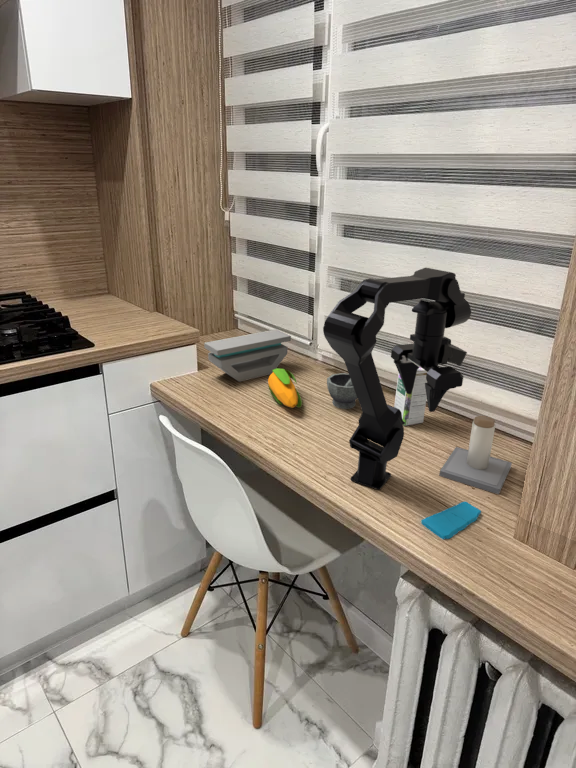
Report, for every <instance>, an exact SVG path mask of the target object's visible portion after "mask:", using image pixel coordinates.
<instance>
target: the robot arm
mask: <svg viewBox="0 0 576 768" xmlns="http://www.w3.org/2000/svg"><path fill="white" fill-rule="evenodd" d="M456 278H457V276H456V273H455V272H451V271H446V270H441V269H437V268H430V267H423V268H420V269H418V270H415V271H413V274H412V275H405V276H397V277H387V278H386V277H384V278H367V279H366V278H365V279H363V280H361V282H360V284H359V285H358V287H356V289H355V290H353V291H352V292H351V293H349V294H348V295H346V296H345V297H343V298H342V299H340V300H339V301H338V302H337V304H336V305H335V306H334V307H333V309H332V310H331V311H330V313H329V314H328V316H327V317H326V318H325V321H324V323H323V324H324V325H323V327H322V330H323V336H324V338H325V340H326V341H327V343H328V344H329V346H330V348H331V349H332V350H333V351H334V352H335V353H336V354H337V355H338V357H340V358H341V359H342V360H343V362H344V363H345V364H344V365H345V367H346V370H347V374H349V376H350V378H351V381H352V384H353V387H354V390H355V393H356V395H357V401H358V403H359V407H360V410H361V411H362V412H361V415H360V416H359V418H358V425H357V427H356V429H355V431H353V433H352V435H351V436H350V438H349V440H348V441H349V443H348V444H349V447H350V448H351V449H353V450H355V451H357V452H358V462H357V470H356V471H355V472H354V473H353V474H352V476H351V477H350V481H352V482H354V483H357V484H361V485H363V486H366V487H369V488H372V489H374V490H378V491H379V490H382V488H383V487H384V485H385V484H386V483H387V481H389V479H390V478H391V477H392V473H391V472H389V471H387V464H388V462H390V461H392V460H394V459H396V458H397V457H398V455H399V452H400V449H401V446H402V443H403V440H404V437H405V430H404V427H405V426H404V425H403V424H405V422H404V421H403V419H402V413H401V411H400V410H399V409H397V408H395V407H394V406H392V405H389V404H388V403H387V401H386V397H385V394H384V390H383V387H382V385H381V384H382V383H381V380H380V377H379V374H378V370H377V367H376V364H375V361H374V358H373V353H372V352H373V350H374V348H375V347H376V344H377V335H378V333H379V332H380V331H381V329H382V328H383V326H384V324H385V315H386V309H387V307H388V305H389V304H391V303H392V304H393V303H398V302H404V301H405V302H406V301H411V300H418V299H419V302H417V304H415V305H414V306H413V308H411V312H413V313H416V321H415V329H414V334H413V333H412V334H410V336H409V340H410V341H412V342H413V343H405V344H397V345H396V344H395V345H394V346H393V348H391V351H390V352H391V353H390V358H391V359H392V360H393V364H394V366H395V367H396V369H397V372H398V373H399V374H400V377H401V380H402V382H403V385H404V388H405V391H406V393H407V394H411V393H412V390H413V387H414V382H415V377H416V373H417V370H418V368H419V367H421V368H423V369H424V370H426V371H427V374H426V380H427V383H425V389H426V396H427V400H426V404H427V409H428V412H430V413H433V412H435V411H436V409H437V408H438V406H439V404H440V402H441V401H442V399H443V397H444V396H445V394H446V393H447V392H448V391H449V390H451V389H456V388H460V387H462V386H463V383H464V382H463V381H464V377H465V376H464V375H463V373H462V372H460V371H459V370H457V369H455V368H454V367H452V366H443V365H447V364H448V363H451V364H456V366H458V367H462V364H463V362H464V361H465V358H466V356H467V354H468V352H467V351H466V350H464V349H462V348H460V347H459V346H456V345H454V344H452V339H451V338H449V337H447V336H445V329H449V328H452V327H455V326H459V325H461V324H464V323H466V322H468V320H469V319H470V318H471V316H472V315H471V314H472V309H471V305H470V303H469V301H467V300H466V299H465V296H466V293H465V292H462V291H461V289H460V284H459V281H458V279H456ZM422 299H426V300H422ZM427 300H429V301H427ZM367 302H368V303H371V304H374V305H373V312H372V313H371V314H370V316H369V317H367V316H363V315H360V314H357V313H354V312H355V311H357V310H358V309H360V308H361V307H364V305H365V304H366V303H367ZM439 365H442V366H441V367H440V366H439Z"/></svg>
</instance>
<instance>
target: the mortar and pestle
mask: <svg viewBox="0 0 576 768" xmlns="http://www.w3.org/2000/svg"><path fill="white" fill-rule="evenodd" d="M326 387H327V391H328V394H329V396H330V398H332V405H333V407H335V408H338V409H342V410H348V409H353V408H354V407H356V402H357V401H356V400H358V398H357V395H356V393H355V390H354V387H353V384H352V381H351V378H350V376H349V373H344V372H341V373H334V374H330V375H329V376H328V377H327V378H326Z"/></svg>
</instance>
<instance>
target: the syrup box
mask: <svg viewBox="0 0 576 768" xmlns="http://www.w3.org/2000/svg"><path fill="white" fill-rule="evenodd" d="M426 374H427V371H426V370H424V369H423V368H421V367H419V368H418V370H417V373H416V377H415V382H414V387H413V390H412V393H411V394H407V393H406V391H405V388H404V385H403V382H402V380H401V377H400V374H399V372H398V375H397V382H396V391H395V397H394V398H395V399H394V405H393V407H395V408H397V409H399V410H400V411H401V413H402V419H403V421H404V422H405V424H403V427H405V426H412V425H413V426H414V425H418V424H422V423H424V420H425V419H424V418H425V412H426V406H427V405H426V404H427V396H426V389H425V383H427V380H426Z"/></svg>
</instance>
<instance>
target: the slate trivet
mask: <svg viewBox="0 0 576 768" xmlns="http://www.w3.org/2000/svg"><path fill="white" fill-rule="evenodd" d="M468 450H469V449H466V448H461V447H460V446H459V447H458V446H455V447H454V449H453V451H452V452H451V454H450V455H449V456H448V458H447V459H446V461H445V463H444V464H443V466H442V467H441V468H440V469H439V476H440V477H442V478H446V479H448V480H452V481H454V482H458V483H461V484H465V485H467V486H471V487H474V488H477V489H480V490H484V491H487V492H490V493H492V494H496V495H500V493H501V490H502V488H503V486H504V484H505V481H506V480H507V479H506V478H507V477H508V475H509V472H510V470H511V468H512V461H508V460H505V459H501V458H496V457H493V456H491V455H490V459H489V465H488V468H486V469H475V468H472V467H470V466H469V465H468V464H467V456H468Z"/></svg>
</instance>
